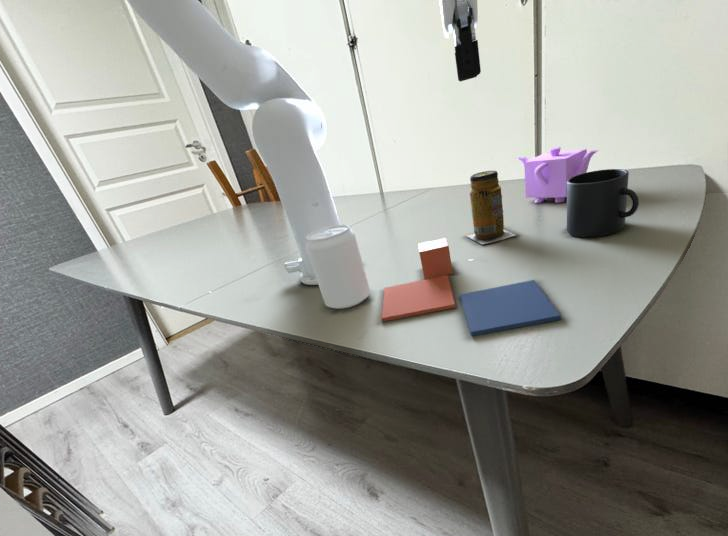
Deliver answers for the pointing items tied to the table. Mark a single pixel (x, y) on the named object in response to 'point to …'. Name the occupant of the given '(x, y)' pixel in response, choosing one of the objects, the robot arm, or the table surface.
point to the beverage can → (338, 266)
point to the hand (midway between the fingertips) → (468, 78)
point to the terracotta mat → (417, 298)
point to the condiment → (487, 208)
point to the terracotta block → (435, 258)
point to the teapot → (553, 172)
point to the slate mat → (507, 308)
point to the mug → (598, 202)
